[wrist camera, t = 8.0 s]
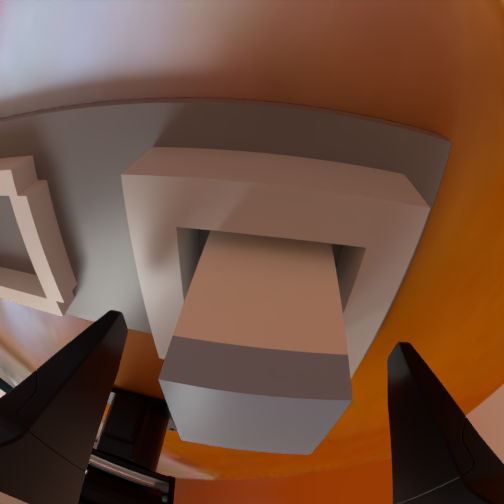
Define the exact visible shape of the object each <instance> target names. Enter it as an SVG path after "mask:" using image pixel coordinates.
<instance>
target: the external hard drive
mask: <svg viewBox="0 0 504 504" xmlns="http://www.w3.org/2000/svg"><path fill="white" fill-rule="evenodd" d="M12 389H13V388H12V387H11V386H10V385H9V384H8V383H6V382H5V381H4V380H2V379H1V378H0V397H2V396H3V395H5V394H6V393H8V392H9V391H10V390H12Z"/></svg>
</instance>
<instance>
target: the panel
mask: <svg viewBox="0 0 504 504" xmlns="http://www.w3.org/2000/svg"><path fill="white" fill-rule="evenodd" d="M451 145H452V142H451V141H450V140H448V139H447V138H445V137H444V136H442V135H441V134H438V133H434V132H431V131H427V130H424V129H420V128H416V127H413V126H409V125H405V124H401V123H396V122H392V121H388V120H383V119H379V118H374V117H369V116H365V115H359V114H354V113H349V112H343V111H337V110H331V109H325V108H318V107H311V106H304V105H295V104H287V103H277V102H267V101H255V100H240V99H219V98H153V99H133V100H118V101H107V102H96V103H87V104H79V105H72V106H65V107H58V108H52V109H46V110H40V111H35V112H29V113H24V114H20V115H15V116H10V117H6V118H2V119H0V298H2V299H5V300H9V301H12V302H15V303H18V304H21V305H24V306H28V307H31V308H34V309H38V310H41V311H45V312H48V313H52V314H55V315H59V316H64V314H66V315H70V316H74V317H78V318H82V319H86V320H90V321H97V320H98V319H99V318H100V317H102V316H103V315H104V314H105V313H107V312H108V311H110V310H116V311H120V312H122V313H123V315H124V319H125V322H126V325H127V328H128V329H131V330H136V331H141V332H146V333H152V335H153V339H154V342H155V346H156V349H157V353H158V356H159V358H161V359H165V357H166V354H167V351H168V348H169V345H170V342H171V339H172V336H173V333H174V330H175V327H176V324H177V321H178V318H179V315H180V313H181V310H182V307H183V304H184V301H185V298H186V296H187V293H188V290H189V287H190V284H191V282H192V279H193V276H194V273H195V271H196V268H197V265H198V262H199V260H200V257H201V254H202V252H203V249H204V246H205V244H206V241H207V238H208V236H209V233H210V231H211V230H212V231H222V232H232V233H242V234H251V235H260V236H270V237H279V238H288V239H297V240H306V241H314V242H323V243H331V244H332V250H333V255H334V261H335V267H336V273H337V279H338V285H339V292H340V298H341V305H342V312H343V319H344V327H345V334H346V342H347V351H348V359H349V368H350V378H352V376H353V374H354V373H355V371H356V369H357V367H358V366H359V364H360V362H361V360H362V359H363V357H365V356H366V354H367V352H368V350H369V349H370V347H371V345H372V343H373V341H374V339H375V337H376V336H377V334H378V332H379V330H380V328H381V326H382V324H383V322H384V320H385V318H386V316H387V314H388V312H389V310H390V308H391V306H392V304H393V302H394V300H395V298H396V296H397V293H398V291H399V289H400V287H401V285H402V283H403V280H404V278H405V276H406V274H407V271H408V269H409V267H410V264H411V262H412V260H413V257H414V255H415V252H416V250H417V247H418V245H419V242H420V240H421V237H422V235H423V232H424V230H425V227H426V224H427V221H428V219H429V216H430V213H431V210H432V207H433V205H434V202H435V199H436V196H437V193H438V190H439V187H440V183H441V180H442V177H443V174H444V170H445V167H446V163H447V160H448V156H449V153H450V149H451Z"/></svg>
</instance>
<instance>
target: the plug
mask: <svg viewBox="0 0 504 504" xmlns="http://www.w3.org/2000/svg"><path fill="white" fill-rule="evenodd" d="M158 380H159V383H160V386H161V388H162V391H163V394H164V397H165V400H166V402H167V405H168V408H169V410H170V413H171V416H172V418H173V421H174V423H175V426H176V428H177V431H178V433H179V436H180V438H181V440H183V441H188V442H194V443H199V444H205V445H211V446H217V447H224V448H231V449H239V450H248V451H258V452H269V453H284V454H308V455H310V454H311V453H312V452H313V451H314V450H315V448H316V447H317V446H318V445H319V444H320V442H321V441H322V440H323V439H324V437H325V436H326V435H327V434H328V432H329V431H330V430H331V429H332V427H333V426H334V425H335V423H336V422H337V421H338V419H339V418H340V417H341V415H342V414H343V413H344V411H345V410H346V409H347V407H348V406H349V405H350V403H351V402H352V389H351V378H350V368H349V359H348V351H347V342H346V334H345V327H344V319H343V312H342V305H341V298H340V292H339V285H338V279H337V273H336V267H335V261H334V255H333V250H332V244H331V243H323V242H314V241H306V240H297V239H288V238H279V237H270V236H260V235H251V234H242V233H232V232H222V231H212V230H211V231H210V233H209V236H208V238H207V241H206V244H205V246H204V249H203V252H202V254H201V257H200V260H199V262H198V265H197V268H196V271H195V273H194V276H193V279H192V282H191V284H190V287H189V290H188V293H187V296H186V298H185V301H184V304H183V307H182V310H181V313H180V315H179V318H178V321H177V324H176V327H175V330H174V333H173V336H172V339H171V342H170V345H169V348H168V351H167V354H166V357H165V360H164V363H163V366H162V369H161V372H160V375H159V378H158Z"/></svg>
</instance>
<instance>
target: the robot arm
mask: <svg viewBox="0 0 504 504" xmlns="http://www.w3.org/2000/svg"><path fill="white" fill-rule="evenodd" d="M127 333H128V328H127V325H126V322H125V319H124V315H123V313H122V312H120V311H116V310H110V311H108V312H107V313H105V314H104V315H103V316H102V317H100V318H99V319H98V320H97V321H95V322H94V323H93V324H92V325H90V326H89V327H88V328H87V329H85V330H84V331H83V332H82V333H80V334H79V335H78V336H77V337H76V338H74V339H73V340H72V341H71V342H69V343H68V344H67V345H66V346H64V347H63V348H62V349H61V350H60V351H58V352H57V353H56V354H55V355H54V356H52V357H51V358H50V359H49V360H48V361H46V362H45V363H44V364H43V365H42V366H40V367H39V368H38V369H37V371H34V372H33V373H32V374H31V375H30V376H28V377H27V378H26V379H25V380H24V381H22V382H21V383H20V384H19V385H17V386H16V387H14V388H13V389H12V390H10V391H9V392H8V393H6V394H5V395H3V396H2V397H0V504H173V501H174V489H175V477H172V476H165V475H162V474H159V473H156V470H157V466H158V462H159V457H160V453H161V450H162V446H163V442H164V438H165V434H166V430H171V431H177V428H176V426H175V423H174V421H173V418H172V416H171V413H170V410H169V408H168V405H167V402H164V401H161V400H156V399H152V398H147V397H143V396H139V395H135V394H131V393H127V392H124V391H120V390H116V389H113V388H112V387H113V385H114V382H115V379H116V376H117V373H118V369H119V365H120V361H121V357H122V353H123V349H124V345H125V341H126V337H127ZM387 368H388V412H389V423H390V436H391V452H392V474H393V475H392V477H393V504H504V464H503V463H502V461H501V460H500V459H499V458H498V457H497V456H496V454H495V453H494V452H493V451H492V450H491V449H490V447H489V446H488V445H487V444H486V442H485V441H484V440H483V439H482V438H481V436H480V435H479V434H478V432H477V431H476V430H475V429H474V427H473V426H472V424H471V423H470V422H469V420H468V419H467V418H466V416H465V415H464V413H463V412H462V410H461V409H460V408H459V406H458V405H457V404H456V402H455V401H454V400H453V398H452V397H451V395H450V394H449V393H448V391H447V390H446V389H445V387H444V386H443V385H442V383H441V382H440V381H439V380H438V378H437V377H436V376H435V374H434V373H433V372H432V370H431V369H430V368H429V367H428V365H427V364H426V363H425V361H424V360H423V359H422V358H421V356H420V355H419V354H418V353H417V351H416V350H415V349H414V347H413V346H412V345H411V344H410V343H408V342H398V343H397V344H396V345H395V347H394V349H393V350H392V352H391V354H390V355H389V357H388V362H387ZM107 402H108V403H109V404H110V408H109V410H108V413H107V416H106V419H105V421H104V424H103V427H102V430H101V433H100V436H99V439H98V442H97V444H96V447H95V449H94V448H93V446H94V442H95V439H96V436H97V433H98V429H99V426H100V423H101V420H102V417H103V414H104V411H105V408H106V405H107ZM89 460H91V461H93V462H95V463H98V464H100V465H102V466H105V467H107V468H109V469H112V470H115V471H117V472H120V473H122V474H125V475H128V476H130V477H133V478H136V479H139V480H142V481H145V482H148V483H151V484H154V487H153V486H149V485H147V484H143V483H141V482H138V481H135V480H132V479H129V478H126V477H124V476H121V475H118V474H116V473H113V472H111V471H108V470H106V469H103V468H101V467H98V466H96V465H94V464H92V463H90V464H88V463H89Z"/></svg>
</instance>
